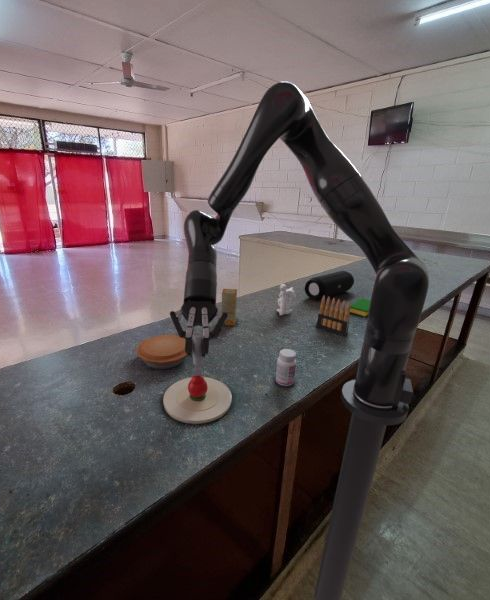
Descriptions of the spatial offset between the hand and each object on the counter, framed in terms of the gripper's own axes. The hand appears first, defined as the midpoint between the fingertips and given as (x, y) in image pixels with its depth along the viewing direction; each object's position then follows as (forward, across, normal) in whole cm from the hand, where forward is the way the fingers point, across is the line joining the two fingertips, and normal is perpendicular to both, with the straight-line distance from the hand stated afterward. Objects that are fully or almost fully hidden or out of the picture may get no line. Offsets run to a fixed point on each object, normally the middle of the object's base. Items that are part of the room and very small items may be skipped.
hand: (196, 356), depth 68 cm
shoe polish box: (-23, +7, +42) cm, 48 cm away
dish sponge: (-34, +63, +53) cm, 89 cm away
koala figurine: (-30, +29, +49) cm, 65 cm away
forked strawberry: (+7, 0, +10) cm, 12 cm away
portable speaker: (-46, +54, +65) cm, 96 cm away
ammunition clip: (-20, +44, +38) cm, 61 cm away
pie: (-5, -11, +23) cm, 26 cm away
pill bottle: (+2, +22, +16) cm, 27 cm away
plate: (+8, 0, +11) cm, 13 cm away
